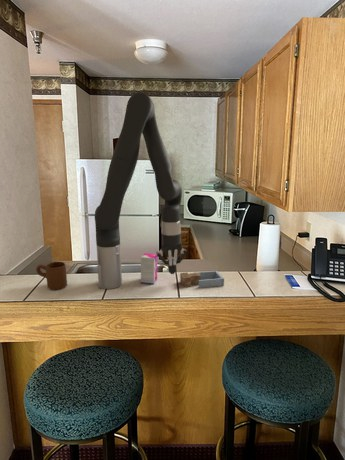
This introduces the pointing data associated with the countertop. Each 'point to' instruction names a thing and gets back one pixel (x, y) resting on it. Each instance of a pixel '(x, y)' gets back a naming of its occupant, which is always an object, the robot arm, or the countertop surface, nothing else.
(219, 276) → the pocket fence
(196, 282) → the tee
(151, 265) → the supplement box
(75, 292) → the countertop surface
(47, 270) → the mug
